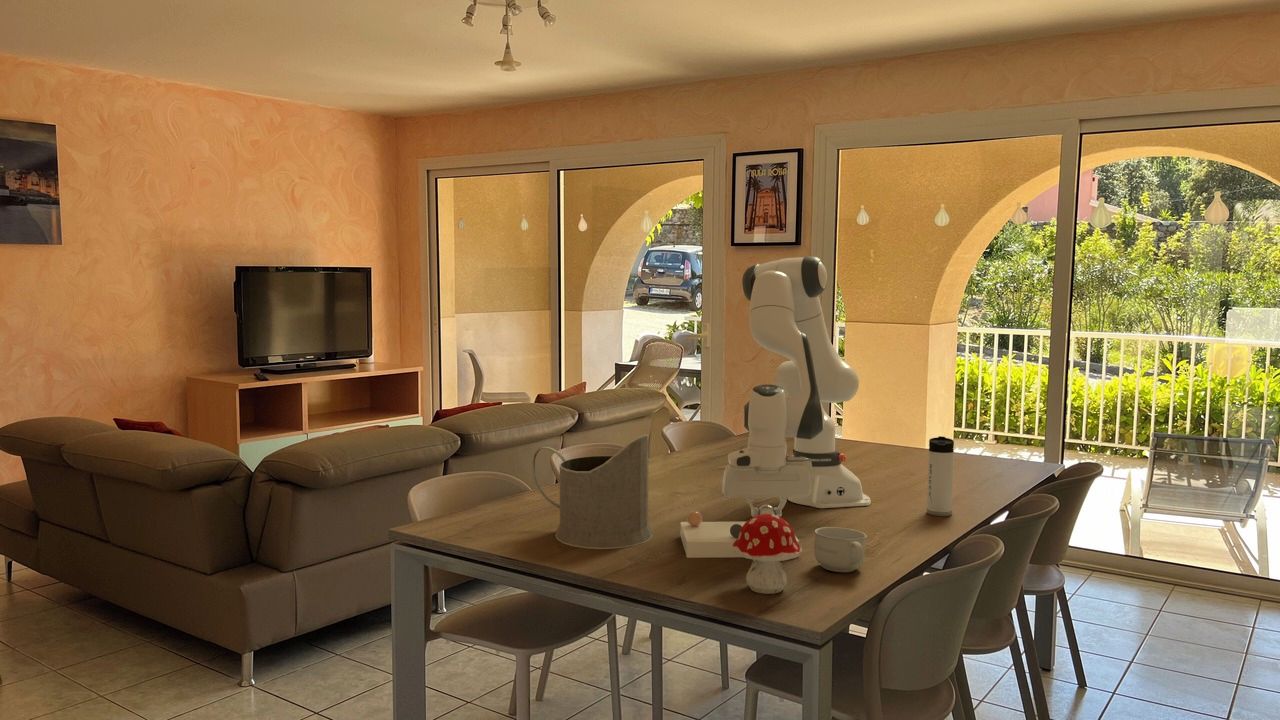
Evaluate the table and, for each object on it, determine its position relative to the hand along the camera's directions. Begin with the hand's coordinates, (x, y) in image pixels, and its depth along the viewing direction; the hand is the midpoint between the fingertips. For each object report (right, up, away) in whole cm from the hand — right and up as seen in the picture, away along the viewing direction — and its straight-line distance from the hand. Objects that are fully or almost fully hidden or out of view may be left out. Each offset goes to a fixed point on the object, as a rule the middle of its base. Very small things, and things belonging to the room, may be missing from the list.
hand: (766, 515), depth 211 cm
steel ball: (0, +1, 0) cm, 1 cm away
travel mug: (+50, -5, +31) cm, 59 cm away
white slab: (-6, -7, 0) cm, 10 cm away
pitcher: (-41, -6, +12) cm, 43 cm away
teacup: (+14, -9, -17) cm, 24 cm away
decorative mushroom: (-4, -10, -29) cm, 31 cm away
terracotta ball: (-16, -1, +4) cm, 17 cm away
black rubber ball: (-7, -3, -5) cm, 9 cm away
